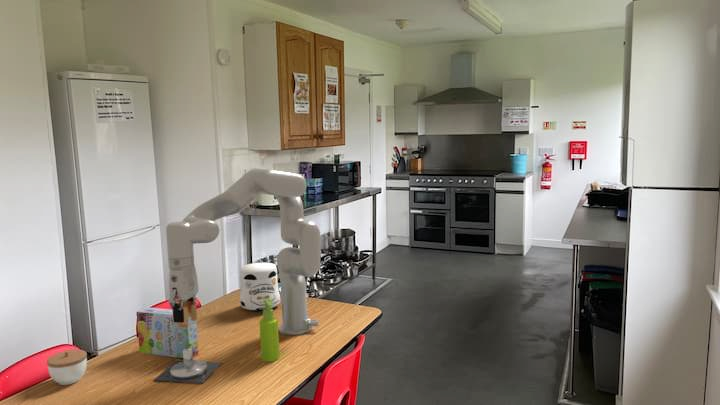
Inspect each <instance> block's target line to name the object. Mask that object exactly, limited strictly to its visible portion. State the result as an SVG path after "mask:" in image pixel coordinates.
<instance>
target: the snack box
mask: <svg viewBox="0 0 720 405" xmlns="http://www.w3.org/2000/svg"><path fill="white" fill-rule="evenodd" d="M136 322H137V335H138V336H137V338H138V347H139V348H138V350H139V353H141V354H149V355H156V356H163V357H164V356H165V357H169V358H170V357H171V358H178V359H183V349H184V348H187V347H191V348H192V355H193V358H194V357H195V356H197V355H199V343H198V342H199V340H198V329H197V328H198V325H197V320H195V321H192V320H191V317H188V322H189V323H185V324H176V323H174V322H173V310H172V309H168V308H159V307H148V306H147V307H146V306H145V307H144V308H142V309H140V310H139V309H138V310H137V311H136Z"/></svg>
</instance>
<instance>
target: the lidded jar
mask: <svg viewBox="0 0 720 405" xmlns="http://www.w3.org/2000/svg"><path fill="white" fill-rule="evenodd" d="M87 357H88V353H87V352H86V351H85V350H83V349H69V350H63V351H62V352H61V351H60V352H58V353H55V354H53V355H51V356H50V357H48V358H47V360H46V365H47V369H48V370H47V371H48V374H49V376H50V378H51V379H52V380H53V381H54V382H56V383H58V385H60V386H69V385H73V384H75V383H77V382H79V381H80V380H81V378H82V377H83V376H84V374H85V373H86V370H87V367H88V366H87V365H88V358H87Z"/></svg>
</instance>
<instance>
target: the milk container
mask: <svg viewBox="0 0 720 405" xmlns="http://www.w3.org/2000/svg"><path fill="white" fill-rule="evenodd" d="M239 274H240V275H239V276H240V277H239V278H240V291H239V296H238V298H239V304H240V307H241V308H242V309H243V310H245V311H249V312H263V310H264V309H265V302H264V300H267V299H270V300H271V301H272V302H273V304H274V305H273V306H270V308H271V309H273V310H274V308H277V307H278V306H279V305H280V303H281V289H280V288H279V283H278V267H277V264H275V263H272V262H254V263H248V264H244V265H242V266H241V267H240V270H239Z"/></svg>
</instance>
